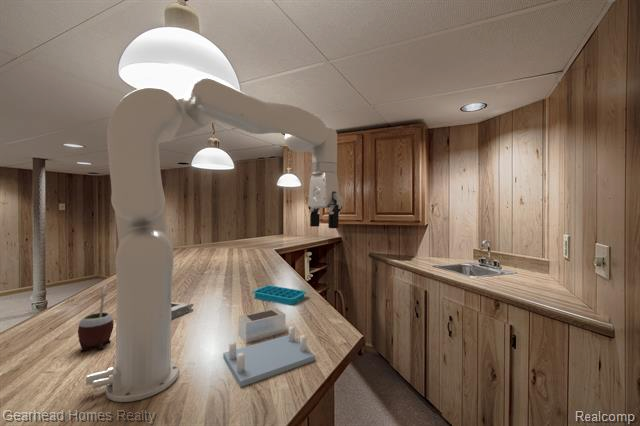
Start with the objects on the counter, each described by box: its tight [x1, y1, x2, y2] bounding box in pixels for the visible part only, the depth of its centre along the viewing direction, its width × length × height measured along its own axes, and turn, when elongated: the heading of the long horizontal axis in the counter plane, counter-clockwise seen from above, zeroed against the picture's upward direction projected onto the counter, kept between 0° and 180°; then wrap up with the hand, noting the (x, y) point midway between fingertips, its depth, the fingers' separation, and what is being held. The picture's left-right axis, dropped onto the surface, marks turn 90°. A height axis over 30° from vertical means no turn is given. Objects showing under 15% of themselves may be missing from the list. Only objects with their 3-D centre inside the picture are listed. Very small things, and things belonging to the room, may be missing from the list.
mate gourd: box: [77, 283, 114, 354], centre depth 70 cm, size 8×8×15 cm
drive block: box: [238, 307, 286, 344], centre depth 78 cm, size 12×6×6 cm, turn 126°
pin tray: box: [222, 325, 316, 388], centre depth 65 cm, size 18×13×5 cm
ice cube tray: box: [251, 285, 307, 306], centre depth 111 cm, size 12×20×3 cm, turn 64°
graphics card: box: [171, 301, 194, 320], centre depth 95 cm, size 10×3×25 cm
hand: (323, 227), depth 81 cm, fingers open, 9 cm apart
